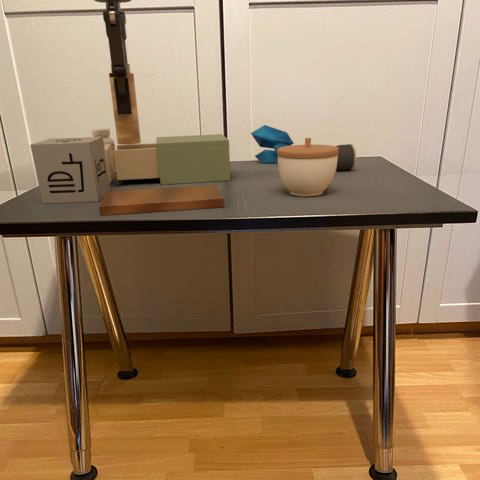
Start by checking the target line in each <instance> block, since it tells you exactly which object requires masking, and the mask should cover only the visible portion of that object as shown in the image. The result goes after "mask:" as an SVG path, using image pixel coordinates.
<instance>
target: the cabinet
mask: <svg viewBox="0 0 480 480" xmlns="http://www.w3.org/2000/svg"><path fill="white" fill-rule="evenodd" d="M155 141H156V142H155V143H156V144H157V154H158V164H159V174H160V178H159V182H160V185H161V186H162V185H163V186H164V185H165V186H166V185H180V184H181V185H182V184H193V183H194V184H196V183H197V184H198V183H211V182H212V183H213V182H229V181H231V161H230V160H231V158H230V157H231V155H230V139H228V138H227V137H226V136H225V135H224V134H222V133H217V134H198V135H197V134H195V135H174V136H157V137H156V140H155Z"/></svg>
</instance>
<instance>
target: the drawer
mask: <svg viewBox="0 0 480 480" xmlns="http://www.w3.org/2000/svg"><path fill="white" fill-rule="evenodd" d="M104 147H105V154H106V161H107V168H108V174H109V181H110V184H111V183H112V180H113V179H114V177H115V175H116V180H117V181H127V180H145V179H160V174H159V164H158V154H157V144H156V142H155V143H153V142H152V143H151V142H149V143H139V144H117V145H116V149H115V150H113V153H114V160H115V167H116V173H115V169H114V162H113V155H112V148H111V144H105V146H104Z"/></svg>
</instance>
